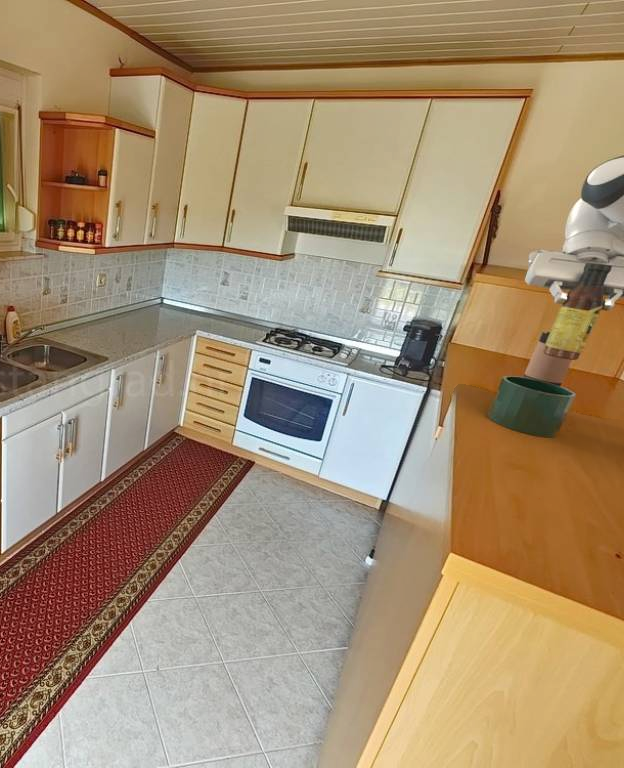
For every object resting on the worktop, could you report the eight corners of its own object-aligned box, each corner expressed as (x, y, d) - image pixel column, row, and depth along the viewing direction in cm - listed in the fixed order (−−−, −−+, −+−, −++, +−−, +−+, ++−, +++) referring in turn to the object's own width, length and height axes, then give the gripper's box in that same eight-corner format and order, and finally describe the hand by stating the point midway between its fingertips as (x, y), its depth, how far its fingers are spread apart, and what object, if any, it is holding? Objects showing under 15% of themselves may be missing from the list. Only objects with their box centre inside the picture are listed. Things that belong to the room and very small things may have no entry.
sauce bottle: (581, 363, 102) (626, 266, 95) (544, 356, 104) (585, 261, 98) (573, 357, 107) (615, 265, 100) (538, 350, 110) (576, 260, 103)
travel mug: (553, 416, 124) (588, 341, 117) (518, 409, 127) (550, 335, 120) (540, 407, 131) (572, 335, 124) (507, 400, 133) (537, 329, 126)
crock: (548, 424, 119) (566, 385, 115) (564, 443, 108) (584, 401, 104) (483, 408, 124) (498, 372, 121) (492, 425, 113) (509, 385, 110)
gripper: (536, 238, 108) (528, 286, 103) (660, 252, 99) (658, 305, 94) (524, 258, 113) (516, 305, 108) (641, 272, 104) (638, 324, 100)
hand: (583, 305), depth 101 cm, fingers closed on sauce bottle, 6 cm apart
